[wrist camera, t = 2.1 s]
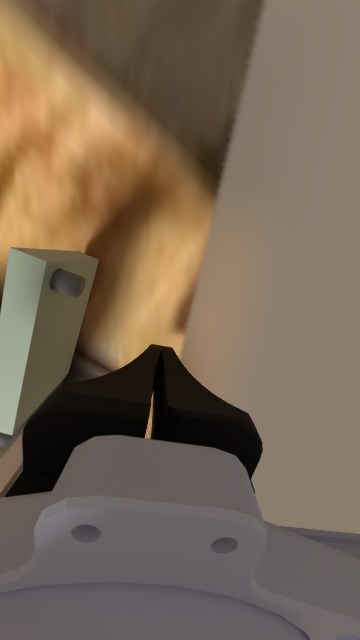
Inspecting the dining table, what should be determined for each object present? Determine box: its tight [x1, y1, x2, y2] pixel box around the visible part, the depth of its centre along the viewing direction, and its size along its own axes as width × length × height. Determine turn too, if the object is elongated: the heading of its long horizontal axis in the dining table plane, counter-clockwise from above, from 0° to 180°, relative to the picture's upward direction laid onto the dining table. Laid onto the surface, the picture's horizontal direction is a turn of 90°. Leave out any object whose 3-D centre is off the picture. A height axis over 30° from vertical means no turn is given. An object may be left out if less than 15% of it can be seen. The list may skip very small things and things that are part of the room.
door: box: [0, 247, 99, 449], centre depth 10 cm, size 2×9×5 cm, turn 158°
